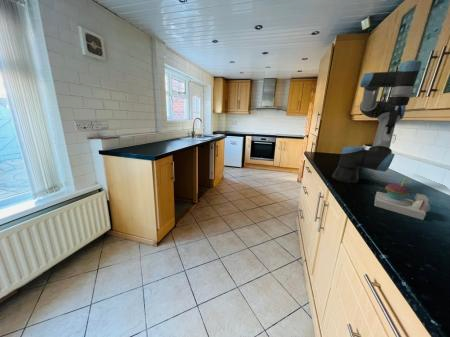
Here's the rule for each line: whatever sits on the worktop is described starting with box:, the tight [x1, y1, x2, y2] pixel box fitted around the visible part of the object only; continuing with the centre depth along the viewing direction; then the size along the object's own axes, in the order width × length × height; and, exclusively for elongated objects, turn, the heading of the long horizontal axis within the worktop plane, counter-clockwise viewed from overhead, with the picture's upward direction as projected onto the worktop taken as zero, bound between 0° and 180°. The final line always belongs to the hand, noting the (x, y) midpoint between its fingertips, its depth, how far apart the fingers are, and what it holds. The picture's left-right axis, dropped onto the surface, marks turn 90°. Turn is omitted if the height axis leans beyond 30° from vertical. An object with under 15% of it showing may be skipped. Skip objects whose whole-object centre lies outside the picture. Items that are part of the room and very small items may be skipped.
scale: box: [374, 191, 431, 221], centre depth 89 cm, size 16×18×8 cm
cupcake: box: [385, 176, 410, 200], centre depth 89 cm, size 9×8×12 cm
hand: (385, 139), depth 96 cm, fingers open, 13 cm apart
